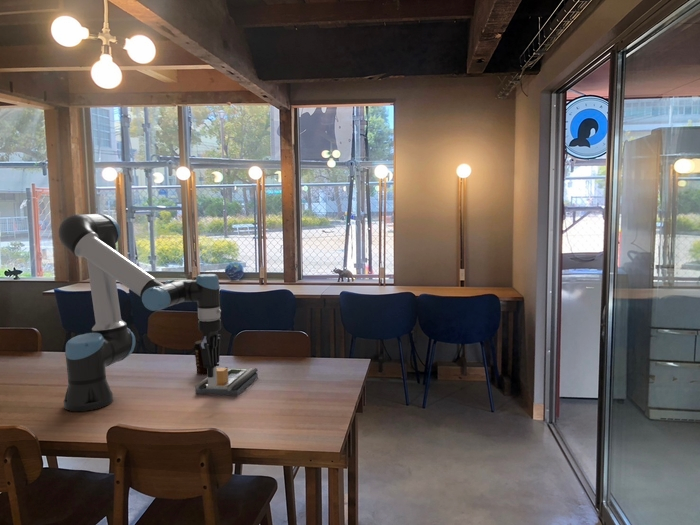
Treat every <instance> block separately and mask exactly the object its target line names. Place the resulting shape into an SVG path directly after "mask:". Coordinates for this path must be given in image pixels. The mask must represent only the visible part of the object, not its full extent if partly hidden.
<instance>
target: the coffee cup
mask: <svg viewBox="0 0 700 525" xmlns="http://www.w3.org/2000/svg"><path fill="white" fill-rule="evenodd" d="M202 342H203V339H201V340H197V341H196V340H195V342H194V345H193V347H192V349H193V350H194V357H195V365H196V375H198V376H208V373H207V368H204V366H203V360H202V354H201V349H200V347H199V343H202Z"/></svg>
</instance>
